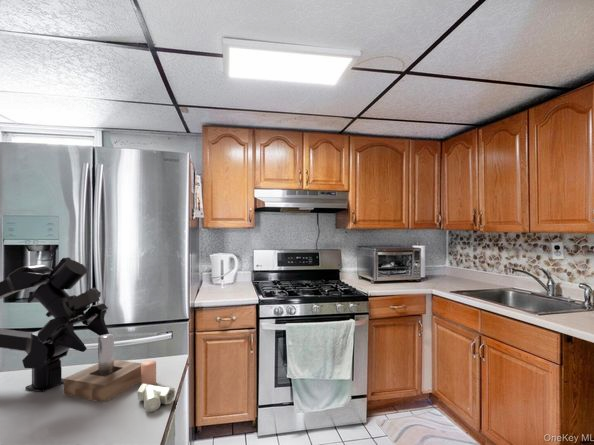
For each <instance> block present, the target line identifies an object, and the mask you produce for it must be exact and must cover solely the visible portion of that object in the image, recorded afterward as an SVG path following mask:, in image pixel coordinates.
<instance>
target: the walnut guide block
mask: <svg viewBox="0 0 594 445" xmlns="http://www.w3.org/2000/svg"><path fill="white" fill-rule="evenodd" d="M142 363H143V362H142ZM142 363H141V362H135V361H127V360H120V359H114V373H112V374H110V375H108V376H106V377H104V376H98V363H95V364H94V365H92V366H89V367H87V368H85V369H82V370H80V371H78V372H74V373H73V374H71V375H69V376H67V377H65V378H64V377H63V379H64V383H63V395H64V396H67V397H72V398H79V399H84V400H90V401H95V402H100V403H105V402H107V401H109V400H111V399H112V398H114V397H116V396H118V395H120V394H121V393H123V392H124V391H127V390H128V389H130V388H132V387H133V386H135V385H137V384H138V383H141V364H142Z"/></svg>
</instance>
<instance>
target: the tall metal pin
mask: <svg viewBox="0 0 594 445" xmlns="http://www.w3.org/2000/svg"><path fill="white" fill-rule="evenodd" d="M114 360H115V335H114V334H112V333H109V334H105V335H101V336H99V335H98V336H97V364H98V376H104V377H106V376H108V375H110V374H112V373H114Z"/></svg>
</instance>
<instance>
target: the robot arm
mask: <svg viewBox="0 0 594 445" xmlns="http://www.w3.org/2000/svg"><path fill="white" fill-rule="evenodd" d="M87 272H88V270H87V268H86V266H85V265H84V264H83V263H80V262H79V261H76V260H75V259H72V258H71V257H68V256H67V257H63V258H61V260H59V262H58V264H56V266H55V267H53V268H49V267H48V266H47V265H45V264H36V265H35V264H34V265H25V266H21V267H18V268H17V269H15V270H14V271H12V272H10V273H9V274H8V275H7V277H6V278H5V279H3V280H1V281H0V300H1V299H3V298H6V297H9V296H10V295H13V294H15V293H18V292H19V291H23V290H28V289H33V288H35V290H33V291H29V292H28V297H27V303H28V304H30V303H33V302H39V303H40V304H41V305H42V306H43V307H44V308H45V309H46V311H47V312H46V314H45V316H46V317H47V318H50V317H53V318H51V319H49V321H47V323H46V324H45V325H44V326H43V327H42V328H41V329H39V330H37V331H34V332H31V331H29V332H28V331H23V330H15V329H6V328H0V348H1V349H8V350H14V351H21V352H26V354H27V355H26V356H25V357H24V358H23V359H22V361H21V362H22V364H23V367H24V369H31V384H28V385H27V386H25V390H28V391H32V392H33V391H34V392H39V393H43V392H46V391H48V390H51V389H52V388H56V387H57V386H59V385H61V384H64V377H63V376H62V372H63V371H62V369H63V368H62V360H61V359H62V358H65V357H66V356H67V355H68V352H69V350H70V349H72V350H75V351H78V352H82V353H84V352H86V350H87V349H88V348H87V346H86V344H85V343H84V342H83V341H82V340H81V338H80V337H79V336H78V335H77V334H76V332H75V330H74V326H75V325H78V324H80V323H82V325H84V326H86V327H85V328H86V329H87V330H89V331H91V332H93V333H94V334H96V335H97V336H98V337H99V336H101V335H105V334H110V332H109V329H108V328H107V324H106V321H105V315H106V314H107V310H108V309H109V307H108V306H107V305H105V303H103V302H102V303H97V302H99V301H100V298H101V291H99V290H98V289H97V288H96V287H92V288H89V289H87V290H85V291H84V292H83V293H80V294H79V295H75V294H74V295H73V294H72V295H70V294H68V293H67V291H66V290H71V289H73V288H74V286H76V285H77V283H78V282H80V280H81V279H82V278H83V277H84V276H85V275H86V274H87ZM95 302H96V303H97V304H94V305H91V304H93V303H95ZM89 305H91V306H90V307H89ZM62 377H63V378H62Z"/></svg>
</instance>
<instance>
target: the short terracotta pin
mask: <svg viewBox="0 0 594 445" xmlns="http://www.w3.org/2000/svg"><path fill="white" fill-rule="evenodd" d="M140 384H141V385H142V384H152V385H155V386H156V385H157V361H156V360H147V361H143V362H142V364H141V381H140ZM141 385H140V386H141Z"/></svg>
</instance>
